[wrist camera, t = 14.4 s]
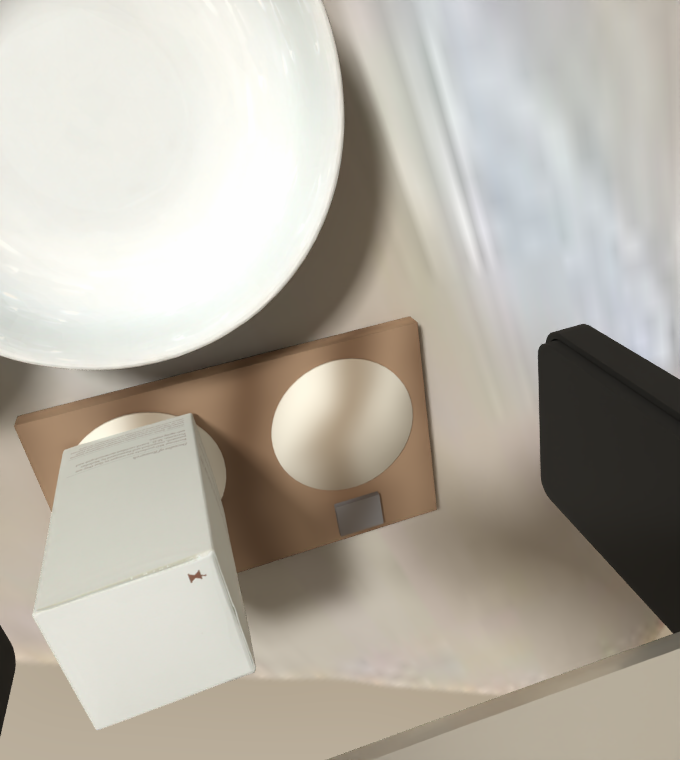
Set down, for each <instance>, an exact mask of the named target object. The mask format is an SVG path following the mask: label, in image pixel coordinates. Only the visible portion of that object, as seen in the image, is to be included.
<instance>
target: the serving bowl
mask: <svg viewBox="0 0 680 760" xmlns="http://www.w3.org/2000/svg"><path fill="white" fill-rule="evenodd" d="M344 125H345V120H344V95H343V83H342V75H341V68H340V63H339V57H338V52H337V47H336V43H335V39H334V36H333V32H332V28H331V24H330V21H329V18H328V15H327V12H326V9H325V6H324V4H323V1H322V0H0V356H3V357H6V358H9V359H13V360H16V361H21V362H25V363H30V364H35V365H40V366H46V367H54V368H62V369H75V370H112V369H124V368H132V367H139V366H144V365H150V364H154V363H158V362H162V361H166V360H170V359H173V358H177V357H179V356H182V355H185V354H188V353H190V352H193V351H195V350H197V349H200V348H202V347H205V346H207V345H209V344H211V343H213V342H215V341H217V340H218V339H220V338H222V337H224V336H225V335H227V334H229V333H230V332H232V331H233V330H235V329H236V328H238V327H239V326H241V325H243V324H244V323H246V322H247V321H248V320H249V319H251V318H252V317H253V316H255V315H256V314H257V313H258V312H259V311H261V310H262V309H263V308H264V307H265V306H266V305H267V304H268V303H270V301H271V300H272V299H273V298H274V297H275V296H276V295H277V294H278V293H279V292H280V291H281V290H282V289H283V288H284V287H285V285H286V284H287V283H288V282H289V281H290V280H291V278H292V277H293V276H294V274H295V273H296V271H297V270H298V269H299V267H300V266H301V264H302V263H303V261H304V260H305V258H306V257H307V255H308V254H309V252H310V250H311V248H312V246H313V245H314V243H315V241H316V239H317V237H318V235H319V232H320V230H321V228H322V226H323V224H324V221H325V219H326V216H327V213H328V211H329V208H330V205H331V202H332V199H333V195H334V192H335V189H336V185H337V180H338V176H339V171H340V165H341V160H342V151H343V141H344Z"/></svg>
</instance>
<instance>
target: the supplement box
mask: <svg viewBox="0 0 680 760" xmlns="http://www.w3.org/2000/svg"><path fill="white" fill-rule="evenodd" d="M32 616H33V618H34V620H35V622H36V624H37V625H38V627H39V629H40V631H41V632H42V634H43V636H44V638H45V640H46V642H47V644H48V645H49V647H50V649H51V651H52V653H53V654H54V656H55V658H56V660H57V662H58V663H59V665H60V667H61V669H62V670H63V672H64V674H65V676H66V678H67V679H68V681H69V683H70V685H71V687H72V688H73V690H74V692H75V694H76V696H77V697H78V699H79V701H80V703H81V704H82V706H83V708H84V710H85V711H86V713H87V715H88V717H89V719H90V720H91V722H92V724H93V726H94V728H95V729H96V730H100V729H103V728H105V727H108V726H111V725H113V724H116V723H119V722H122V721H125V720H127V719H130V718H132V717H135V716H138V715H141V714H143V713H146V712H148V711H151V710H154V709H157V708H160V707H162V706H165V705H167V704H170V703H173V702H175V701H178V700H181V699H183V698H186V697H188V696H191V695H194V694H196V693H199V692H201V691H204V690H207V689H209V688H212V687H214V686H217V685H220V684H223V683H226V682H228V681H231V680H234V679H237V678H240V677H243V676H246V675H249V674H252V673H254V672H255V670H256V666H255V660H254V654H253V648H252V643H251V637H250V632H249V627H248V622H247V618H246V613H245V609H244V604H243V599H242V595H241V590H240V586H239V581H238V576H237V572H236V567H235V562H234V557H233V553H232V548H231V544H230V539H229V534H228V528H227V523H226V518H225V513H224V509H223V505H222V502H221V498H220V495H219V491H218V488H217V485H216V482H215V478H214V475H213V472H212V469H211V466H210V463H209V460H208V457H207V454H206V451H205V449H204V446H203V443H202V440H201V437H200V434H199V431H198V428H197V426H196V423H195V420H194V417H193V414H192V413H188V414H184V415H181V416H177V417H174V418H170V419H167V420H163V421H160V422H156V423H153V424H149V425H145V426H142V427H139V428H135V429H132V430H128V431H125V432H121V433H118V434H115V435H111V436H108V437H104V438H101V439H98V440H94V441H91V442H88V443H84V444H81V445H77V446H74V447H71V448H69V449H66V450H64V451H63V455H62V460H61V465H60V470H59V475H58V481H57V486H56V492H55V497H54V503H53V508H52V513H51V519H50V524H49V530H48V536H47V541H46V546H45V552H44V557H43V563H42V568H41V574H40V579H39V584H38V589H37V594H36V600H35V605H34V610H33V613H32Z"/></svg>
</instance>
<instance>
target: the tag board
mask: <svg viewBox="0 0 680 760" xmlns="http://www.w3.org/2000/svg"><path fill="white" fill-rule="evenodd" d="M188 413H192V414H193V417H194V420H195V423H196V426H197V428H198V431H199V434H200V437H201V440H202V443H203V446H204V449H205V451H206V454H207V457H208V460H209V463H210V466H211V469H212V472H213V475H214V478H215V482H216V485H217V488H218V491H219V495H220V498H221V502H222V505H223V509H224V513H225V518H226V523H227V528H228V534H229V539H230V544H231V548H232V553H233V557H234V562H235V567H236V572H237V573H238V572H242V571H245V570H248V569H251V568H254V567H257V566H261V565H264V564H267V563H270V562H273V561H276V560H279V559H283V558H286V557H289V556H292V555H295V554H298V553H301V552H305V551H308V550H311V549H314V548H317V547H320V546H324V545H327V544H330V543H333V542H336V541H339V540H342V539H346V538H349V537H352V536H355V535H358V534H361V533H365V532H368V531H371V530H374V529H377V528H380V527H383V526H387V525H390V524H393V523H396V522H399V521H402V520H406V519H409V518H412V517H415V516H418V515H421V514H424V513H428V512H431V511H434V510H437V506H436V496H435V487H434V477H433V468H432V458H431V448H430V439H429V429H428V419H427V410H426V400H425V390H424V381H423V371H422V362H421V352H420V342H419V333H418V323H417V322H416V321H415V320H414V319H412V318H411V317H406V318H402V319H398V320H394V321H390V322H386V323H382V324H378V325H374V326H370V327H366V328H362V329H358V330H354V331H351V332H347V333H343V334H339V335H335V336H331V337H327V338H323V339H319V340H315V341H311V342H307V343H303V344H299V345H295V346H292V347H288V348H284V349H280V350H276V351H272V352H268V353H264V354H260V355H256V356H252V357H248V358H244V359H240V360H236V361H233V362H229V363H225V364H221V365H217V366H213V367H209V368H205V369H201V370H197V371H193V372H189V373H185V374H181V375H177V376H174V377H170V378H166V379H162V380H158V381H154V382H150V383H146V384H142V385H138V386H134V387H130V388H126V389H122V390H118V391H114V392H111V393H107V394H103V395H99V396H95V397H91V398H87V399H83V400H79V401H75V402H71V403H67V404H63V405H59V406H55V407H52V408H48V409H44V410H40V411H36V412H32V413H28V414H24V415H20V416H18V417H17V419H16V422H15V425H14V427H15V429H16V432H17V434H18V436H19V439H20V441H21V443H22V445H23V448H24V450H25V452H26V455H27V457H28V459H29V461H30V464H31V466H32V468H33V471H34V473H35V475H36V477H37V480H38V482H39V484H40V487H41V489H42V491H43V493H44V496H45V498H46V500H47V503H48V505H49V507H50V509H51V512H52V508H53V503H54V497H55V492H56V486H57V481H58V475H59V470H60V465H61V460H62V455H63V451H64V450H66V449H69V448H71V447H74V446H77V445H81V444H84V443H88V442H91V441H94V440H98V439H101V438H104V437H108V436H111V435H115V434H118V433H121V432H125V431H128V430H132V429H135V428H139V427H142V426H145V425H149V424H153V423H156V422H160V421H163V420H167V419H170V418H174V417H177V416H181V415H184V414H188Z"/></svg>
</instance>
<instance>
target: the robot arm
mask: <svg viewBox="0 0 680 760" xmlns="http://www.w3.org/2000/svg"><path fill="white" fill-rule="evenodd" d="M538 376H539V419H540V462H541V481H542V485H543V488H544V490H545V492H546V494H547V496H548V497H549V498H550V500H551V501H552V502H553V503H554V504H555V505H556V506H557V507H558V508H559V509H560V511H561V512H562V513H563V514H564V515H565V516H566V517H567V518H568V519H569V520H570V521H571V523H572V524H573V525H574V526H575V527H576V528H577V529H578V530H579V531H580V532H581V533H582V535H583V536H584V537H585V538H586V539H587V540H588V541H589V542H590V543H591V544H592V545H593V547H594V548H595V549H596V550H597V551H598V552H599V553H600V554H601V555H602V556H603V557H604V559H605V560H606V561H607V562H608V563H609V564H610V565H611V566H612V567H613V568H614V569H615V571H616V572H617V573H618V574H619V575H620V576H621V577H622V578H623V579H624V580H625V581H626V583H627V584H628V585H629V586H630V587H631V588H632V589H633V590H634V591H635V592H636V593H637V595H638V596H639V597H640V598H641V599H642V600H643V601H644V602H645V603H646V604H647V605H648V606H649V608H650V609H651V610H652V611H653V612H654V613H655V614H656V615H657V616H658V617H659V618H660V620H661V621H662V622H663V623H664V624H665V625H666V626H667V627H668V628H669V629H670V630H671V632H672V633H673V634H672V635H669V636H666V637H663V638H661V639H658V640H655V641H652V642H649V643H647V644H644V645H641V646H638V647H636V648H633V649H630V650H627V651H624V652H622V653H619V654H616V655H613V656H611V657H608V658H605V659H602V660H599V661H597V662H594V663H591V664H588V665H586V666H583V667H580V668H577V669H574V670H572V671H569V672H566V673H563V674H561V675H558V676H555V677H552V678H549V679H547V680H544V681H541V682H538V683H536V684H533V685H530V686H527V687H525V688H522V689H519V690H516V691H513V692H511V693H508V694H505V695H502V696H500V697H497V698H494V699H491V700H488V701H486V702H483V703H480V704H477V705H475V706H472V707H469V708H466V709H464V710H461V711H458V712H456V713H453V714H450V715H447V716H445V717H442V718H439V719H436V720H434V721H431V722H428V723H426V724H423V725H420V726H417V727H415V728H412V729H409V730H406V731H404V732H401V733H398V734H396V735H393V736H390V737H387V738H384V739H382V740H379V741H377V742H374V743H371V744H368V745H366V746H363V747H360V748H357V749H354V750H352V751H349V752H346V753H344V754H341V755H338V756H336V757H333V758H330V759H327V760H680V379H678V378H676V377H675V376H673V375H671V374H670V373H668V372H666V371H665V370H663V369H661V368H660V367H658V366H656V365H654V364H653V363H651V362H649V361H648V360H646V359H644V358H643V357H641V356H639V355H638V354H636V353H634V352H633V351H631V350H629V349H628V348H626V347H624V346H623V345H621V344H619V343H618V342H616V341H614V340H613V339H611V338H609V337H608V336H606V335H604V334H603V333H601V332H599V331H597V330H596V329H594V328H592V327H591V326H589V325H586V324H581V325H577V326H574V327H570V328H566V329H563V330H559V331H556V332H552V333H550V334H549V335H548V337H547V339H546V343H545V344H542V345H541V346H540V347H539V350H538ZM15 665H16V663H15V653H14V650H13V647H12V645H11V642H10V641H9V639H8V637H7V636H6V634H5V632H4V631H3V629H2V627H1V626H0V735H1V731H2V726H3V721H4V717H5V713H6V708H7V704H8V700H9V695H10V690H11V686H12V682H13V677H14V673H15Z"/></svg>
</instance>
